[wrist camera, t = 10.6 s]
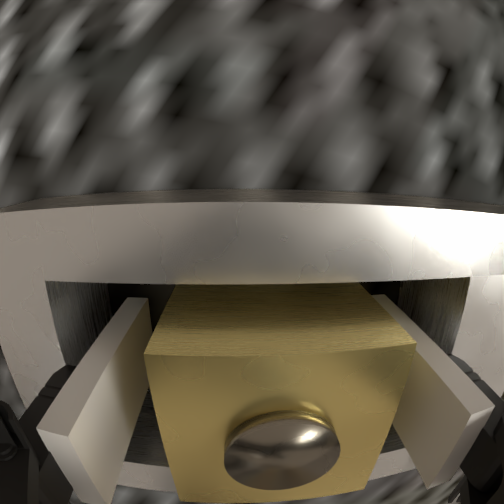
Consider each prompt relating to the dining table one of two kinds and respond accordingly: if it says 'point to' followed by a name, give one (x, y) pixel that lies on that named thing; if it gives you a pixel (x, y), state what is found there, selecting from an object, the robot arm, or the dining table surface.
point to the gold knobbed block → (274, 388)
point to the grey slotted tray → (243, 275)
